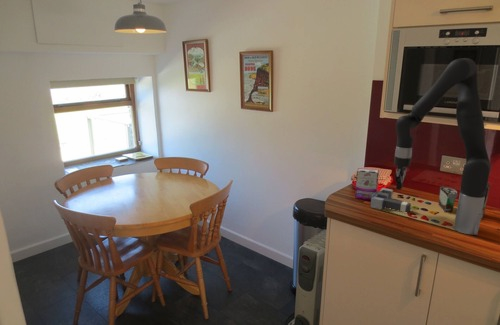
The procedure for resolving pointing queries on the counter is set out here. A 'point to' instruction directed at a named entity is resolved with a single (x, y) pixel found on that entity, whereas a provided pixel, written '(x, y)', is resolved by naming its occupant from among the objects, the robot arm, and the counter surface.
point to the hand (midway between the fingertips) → (398, 188)
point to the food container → (447, 198)
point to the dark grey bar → (396, 204)
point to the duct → (377, 201)
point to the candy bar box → (366, 183)
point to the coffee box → (485, 199)
